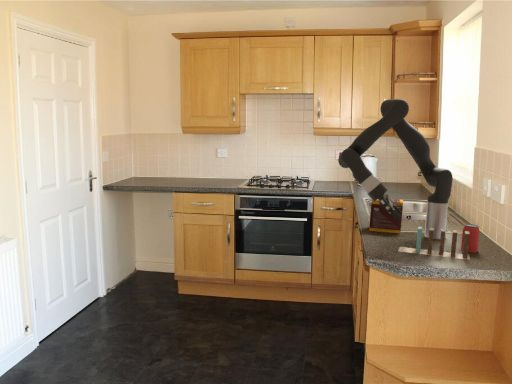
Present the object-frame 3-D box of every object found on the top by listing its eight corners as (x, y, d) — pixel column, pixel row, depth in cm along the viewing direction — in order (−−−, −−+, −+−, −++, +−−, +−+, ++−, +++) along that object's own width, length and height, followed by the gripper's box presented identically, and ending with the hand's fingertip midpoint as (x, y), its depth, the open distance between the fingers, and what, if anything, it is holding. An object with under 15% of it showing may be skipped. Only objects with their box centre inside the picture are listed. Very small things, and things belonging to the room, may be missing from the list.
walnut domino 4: (462, 258, 198) (465, 233, 196) (462, 254, 203) (464, 231, 201) (467, 258, 197) (469, 234, 196) (466, 255, 202) (469, 231, 201)
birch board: (397, 253, 205) (398, 251, 205) (399, 249, 213) (399, 246, 213) (469, 262, 196) (469, 259, 196) (468, 257, 203) (469, 254, 203)
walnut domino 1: (427, 253, 203) (429, 229, 201) (427, 250, 207) (429, 227, 206) (431, 254, 202) (433, 230, 201) (431, 251, 207) (433, 227, 205)
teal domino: (415, 252, 204) (417, 228, 203) (416, 249, 209) (418, 226, 207) (419, 252, 204) (421, 229, 202) (420, 250, 208) (422, 226, 207)
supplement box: (400, 233, 243) (403, 202, 241) (368, 230, 247) (371, 200, 245) (400, 229, 253) (403, 199, 251) (370, 226, 257) (372, 197, 255)
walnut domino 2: (438, 255, 201) (441, 231, 200) (439, 252, 206) (441, 228, 204) (443, 255, 201) (445, 231, 199) (443, 252, 205) (445, 229, 204)
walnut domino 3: (450, 256, 200) (453, 232, 198) (450, 253, 204) (452, 229, 203) (455, 257, 199) (457, 232, 197) (454, 254, 204) (457, 230, 202)
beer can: (469, 255, 207) (472, 227, 205) (457, 251, 213) (459, 224, 211) (480, 254, 210) (483, 226, 208) (468, 250, 215) (471, 223, 214)
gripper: (378, 183, 201) (405, 214, 199) (382, 179, 215) (407, 208, 212) (364, 195, 204) (390, 225, 202) (369, 191, 217) (394, 219, 215)
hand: (399, 216), depth 207 cm, fingers open, 8 cm apart
